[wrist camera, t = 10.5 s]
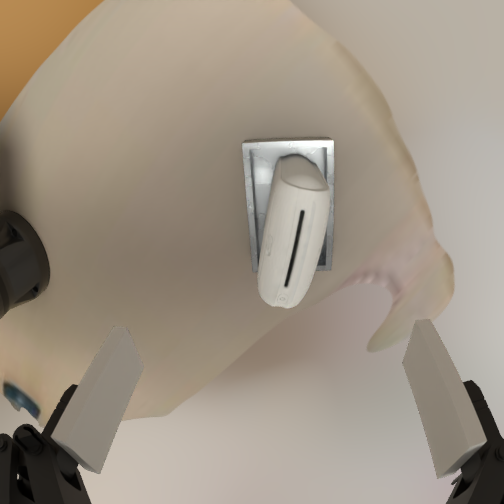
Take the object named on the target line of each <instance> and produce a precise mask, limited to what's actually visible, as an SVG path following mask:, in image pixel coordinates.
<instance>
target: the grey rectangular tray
mask: <svg viewBox="0 0 504 504" xmlns="http://www.w3.org/2000/svg"><path fill="white" fill-rule="evenodd" d="M242 151H243V163H244V175H245V187H246V199H247V211H248V223H249V235H250V246H251V258H252V270H253V272H258V265H259V258H260V252H261V246H262V240H263V234H264V226H265V219H266V213H267V207H268V201H269V195H270V190H271V185H272V180H273V175H274V171H275V167H276V164H277V162H278V160H279V158H280V157H285V156H286V155H289V154H300V155H303V156H305V157H307V158H308V159H309V160H310V161H311V162H312V163H316V165H317V166H318V168H319V169H320V171H321V173H322V175H323V176H324V178H325V180H326V182H327V184H328V186H329V188H330V210H329V216H328V222H327V227H326V232H325V237H324V241H323V245H322V249H321V253H320V256H319V260H318V263H317V267H316V270H315V271H327V270H331V266H332V246H333V217H334V141H333V140H332V139H330V138H329V137H318V138H276V139H256V140H245V141H244V142H243V143H242Z"/></svg>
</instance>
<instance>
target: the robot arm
mask: <svg viewBox="0 0 504 504" xmlns="http://www.w3.org/2000/svg"><path fill="white" fill-rule="evenodd" d="M48 282H49V265H48V260H47V256H46V253H45V250H44V248H43V246H42V243H41V241H40V239H39V238H38V236H37V234H36V233H35V231H34V230H33V228H32V227H31V226H30V225H29V224H28V222H27V221H26V220H25V219H23V218H22V217H21V216H20V215H18V214H16V213H14V212H11V211H3V212H1V213H0V319H1V318H2V317H3V316H4V315H5V314H6V313H7V312H8V311H9V310H10V309H12V308H14V307H17V306H19V305H21V304H24V303H26V302H29V301H31V300H33V299H35V298H37V297H38V296H39V295H40V294H41V293H42V292H43V291H44V290H45V289H46V287H47V285H48ZM402 364H403V366H404V369H405V372H406V375H407V377H408V380H409V383H410V386H411V389H412V392H413V395H414V398H415V401H416V404H417V407H418V411H419V414H420V417H421V420H422V423H423V427H424V430H425V434H426V437H427V441H428V444H429V448H430V452H431V455H432V459H433V463H434V467H435V471H436V475H437V479H439V478H443V477H446V476H449V475H452V474H454V473H455V472H456V471H457V470H458V469H459V468H461V472H462V474H460V475H459V476H458V477H457V478H456V479H455V480H454V481H453V482H452V483H451V484H452V485H454V484H455V483H456V482H457V483H456V485H455V487H454V489H453V491H452V493H451V495H450V497H449V499H448V501H447V503H446V504H504V439H503V438H502V437H501V435H500V433H499V430H498V428H497V425H496V423H495V421H494V418H493V416H492V414H491V411H490V409H489V408H488V405H487V403H486V400H484V396H483V394H482V392H481V390H480V388H479V387H478V386H477V385H476V384H475V383H474V382H473V381H472V380H470V381H466V382H462V380H461V378H460V376H459V374H458V371H457V369H456V367H455V366H454V363H453V361H452V359H451V357H450V355H449V354H448V351H447V349H446V348H445V346H444V344H443V342H442V340H441V338H440V336H439V334H438V333H437V331H436V329H435V327H434V325H433V323H432V322H431V320H430V319H424V320H416V321H415V324H414V328H413V331H412V334H411V338H410V341H409V344H408V347H407V350H406V353H405V356H404V359H403V362H402ZM143 368H144V365H143V363H142V361H141V359H140V356H139V354H138V352H137V349H136V347H135V345H134V342H133V340H132V337H131V335H130V333H129V330H128V328H127V327H119V326H114V327H113V329H112V330H111V332H110V333H109V335H108V337H107V338H106V340H105V341H104V343H103V345H102V346H101V348H100V350H99V351H98V353H97V355H96V356H95V358H94V360H93V361H92V363H91V365H90V366H89V368H88V370H87V371H86V373H85V375H84V377H83V378H82V380H81V382H80V384H79V385H75V384H73V385H71V386H70V387H69V388H68V389H67V390H66V391H65V392H64V394H63V396H62V397H61V399H60V402H59V403H58V405H57V406H56V409H55V410H54V412H53V413H52V415H51V417H50V419H49V421H48V423H47V424H46V426H45V428H44V430H43V432H42V433H41V434H40V433H39V432H38V431H37V430H36V429H35V428H34V427H33V426H32V425H30V424H23V425H21V426H19V427H18V428H17V429H16V430H15V432H14V434H13V439H12V438H11V437H10V436H9V435H7V434H4V433H3V434H0V504H91V502H90V499H89V496H88V494H87V491H86V488H85V486H84V483H83V480H82V478H81V475H80V472H79V470H78V469H77V466H78V464H80V465H81V466H82V467H83V468H85V469H86V470H88V471H91V472H94V473H97V474H100V473H101V470H102V467H103V465H104V462H105V460H106V457H107V454H108V452H109V449H110V447H111V444H112V442H113V439H114V437H115V434H116V432H117V429H118V427H119V424H120V422H121V420H122V417H123V415H124V412H125V410H126V408H127V405H128V403H129V400H130V398H131V396H132V393H133V391H134V389H135V386H136V384H137V382H138V380H139V377H140V375H141V373H142V370H143ZM17 474H19V479H17Z"/></svg>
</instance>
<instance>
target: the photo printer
mask: <svg viewBox="0 0 504 504" xmlns="http://www.w3.org/2000/svg"><path fill="white" fill-rule="evenodd" d="M329 210H330V188H329V186H328V184H327V182H326V180H325V178H324V176H323V175H322V173H321V171H320V169H319V168H318V166H317V165H316V163H312V162H311V161H310V160H309V159H308V158H307V157H305V156H303V155H300V154H289V155H286V156H285V157H280V158H279V160H278V162H277V164H276V167H275V171H274V175H273V180H272V185H271V190H270V195H269V201H268V207H267V213H266V219H265V226H264V234H263V240H262V246H261V252H260V258H259V265H258V278H257V281H258V291H259V295H260V296H261V298H262V299H263V300H264V301H265V302H266V303H267V304H269V305H270V306H273V307H274V306H280V307H284V308H292V307H294V306H296V305H298V304H299V303H300V301H301V300H302V299H303V297H304V296H305V294H306V293H307V291H308V288H309V286H310V284H311V281H312V278H313V276H314V273H315V270H316V267H317V263H318V260H319V256H320V253H321V249H322V245H323V241H324V237H325V232H326V227H327V222H328V216H329Z"/></svg>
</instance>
